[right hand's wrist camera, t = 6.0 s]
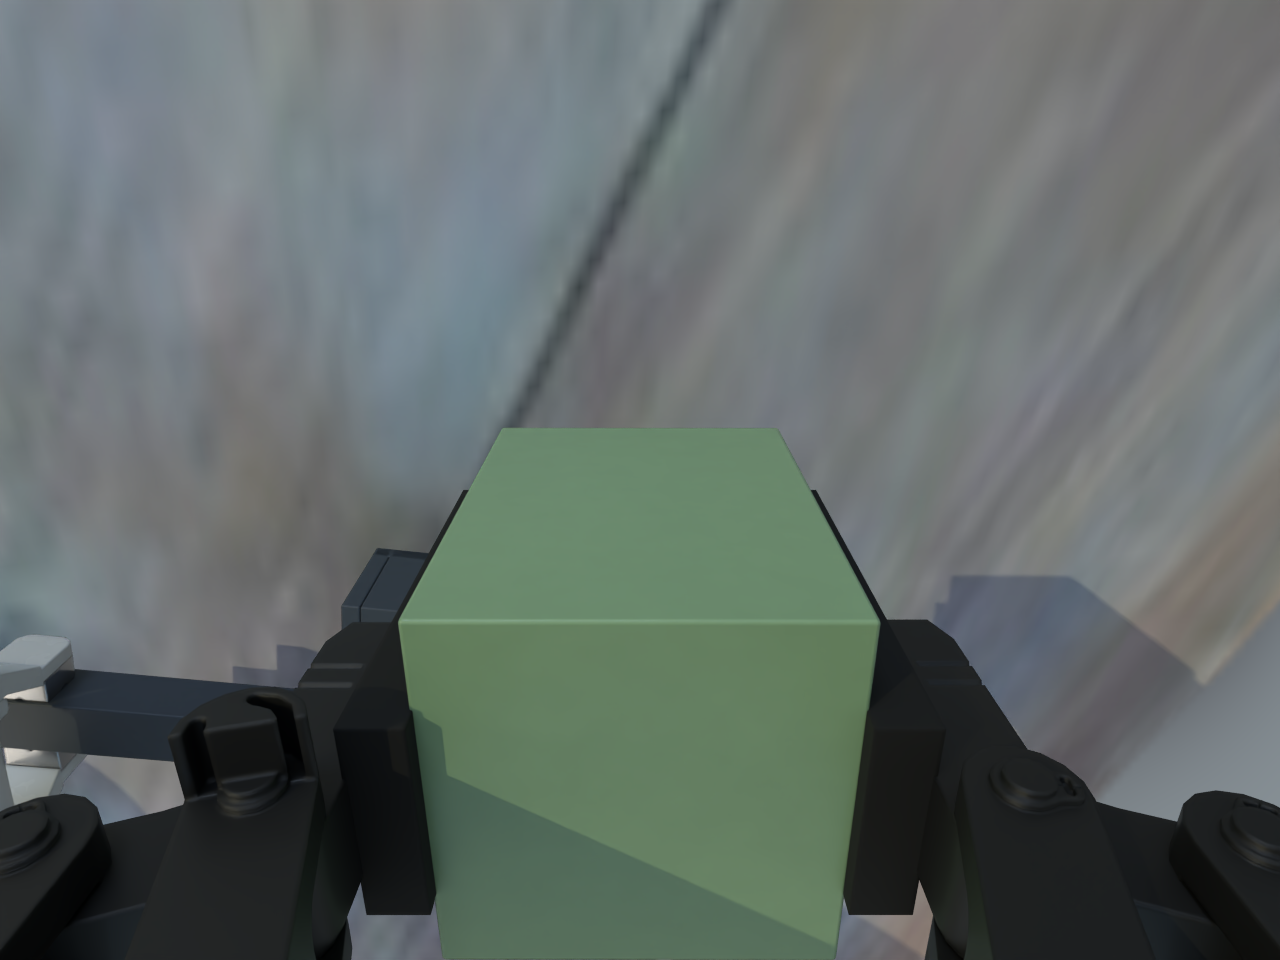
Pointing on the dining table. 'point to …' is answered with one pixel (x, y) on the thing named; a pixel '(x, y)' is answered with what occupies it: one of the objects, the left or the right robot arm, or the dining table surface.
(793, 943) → the block
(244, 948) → the right robot arm
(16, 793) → the left robot arm
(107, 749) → the pan
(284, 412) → the dining table surface
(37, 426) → the dining table surface
